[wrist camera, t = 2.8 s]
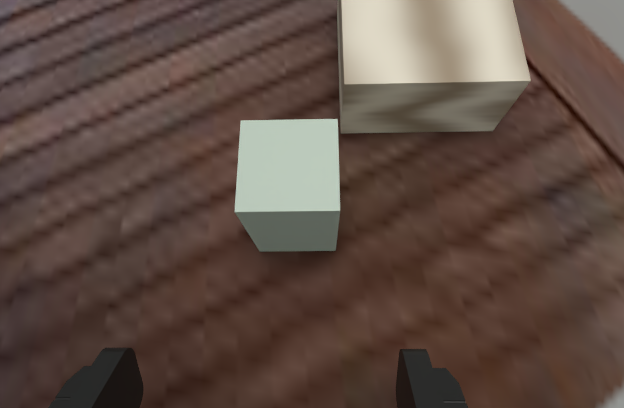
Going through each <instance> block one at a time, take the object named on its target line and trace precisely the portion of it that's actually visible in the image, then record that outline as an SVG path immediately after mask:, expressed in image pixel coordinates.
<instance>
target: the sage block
mask: <svg viewBox="0 0 624 408" xmlns="http://www.w3.org/2000/svg"><path fill="white" fill-rule="evenodd" d="M235 213H236V215H237V216H238V218H239V220H240V221H241V223H242V224H243V226H244V227H245V229H246V231H247V232H248V234H249V235H250V237H251V238H252V240H253V242H254V243H255V245H256V246H257V248H258V249H259V251H336V243H337V234H338V225H339V216H340V187H339V150H338V119H304V120H243V121H241V126H240V141H239V155H238V170H237V184H236V199H235Z"/></svg>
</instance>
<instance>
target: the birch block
mask: <svg viewBox="0 0 624 408" xmlns="http://www.w3.org/2000/svg"><path fill="white" fill-rule="evenodd" d="M337 27H338V61H339V94H340V128H341V133H395V132H457V131H493V130H494V129H495V127H496V126H497V125H498V123H499V122H500V121H501V119H502V118H503V117H504V115H505V114H506V113H507V111H508V110H509V109H510V107H511V106H512V105H513V104H514V102H515V101H516V100H517V98H518V97H519V96H520V94H521V93H522V92H523V90H524V89H525V88H526V86H527V85H528V84H529V82H530V81H531V80H530V75H529V71H528V67H527V62H526V58H525V53H524V49H523V45H522V40H521V36H520V31H519V27H518V23H517V18H516V14H515V9H514V5H513V1H512V0H338V8H337Z"/></svg>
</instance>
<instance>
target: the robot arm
mask: <svg viewBox="0 0 624 408" xmlns="http://www.w3.org/2000/svg"><path fill="white" fill-rule="evenodd" d="M142 396H143V382H142V378H141V375H140V371H139V367H138V364H137V360H136V356H135V353H134V350H133V349H132V348H105V349H103V350H102V351H101V352H100V354H99V355H98V357H97V358H96V360H95V361H94V363H93V364H92V366H84V367H83V368H82V369H80V370H79V371H78V372H77V373H76V374H75V375H73V376H72V377H71V378H70V379H69V380H67V382H66V383H65V385H64V386H63V387H62V389H61V390H60V392H59V393H58V395H57V396H56V399H55V400H53V402H52V403H51V405H50V406H49V407H48V408H139V407H140V404H141V401H142ZM396 399H397V407H398V408H468V406H467V404H466V403H465V398H464V396H463V393H462V390H461V388H460V385H459V383H458V382H457V381H456V379H455V378H454V377H453V376H452V375H451V374H450V372H449V371H448V370H447V369H446V368H432V365H431V362H430V358H429V355H428V352H427V351H426V349H400V352H399V361H398V371H397V382H396Z"/></svg>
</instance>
